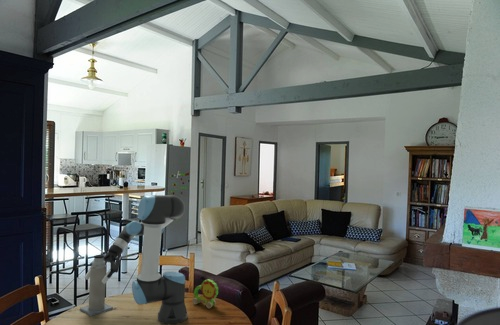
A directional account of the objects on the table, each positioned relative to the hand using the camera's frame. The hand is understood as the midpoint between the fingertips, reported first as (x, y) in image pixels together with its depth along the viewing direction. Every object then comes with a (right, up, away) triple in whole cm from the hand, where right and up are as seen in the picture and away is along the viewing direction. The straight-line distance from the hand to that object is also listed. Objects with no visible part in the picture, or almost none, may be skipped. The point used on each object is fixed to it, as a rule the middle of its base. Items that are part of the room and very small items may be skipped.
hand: (94, 280), depth 183 cm
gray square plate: (0, -16, +1) cm, 16 cm away
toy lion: (+59, -19, +12) cm, 63 cm away
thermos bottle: (0, -15, +2) cm, 15 cm away
